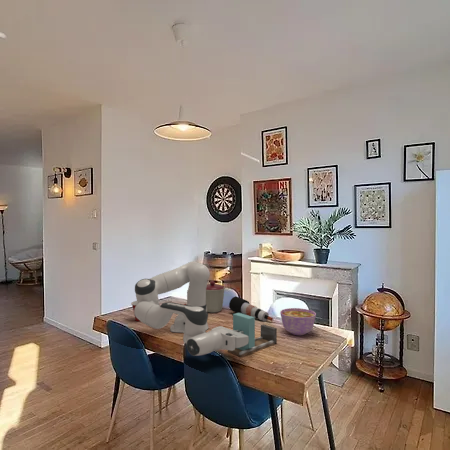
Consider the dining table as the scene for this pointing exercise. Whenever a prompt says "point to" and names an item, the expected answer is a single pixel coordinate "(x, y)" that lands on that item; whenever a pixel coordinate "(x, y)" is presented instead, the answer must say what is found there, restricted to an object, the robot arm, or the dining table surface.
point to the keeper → (245, 328)
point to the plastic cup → (134, 308)
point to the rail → (260, 341)
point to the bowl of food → (298, 320)
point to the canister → (214, 297)
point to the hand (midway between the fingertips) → (241, 332)
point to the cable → (248, 309)
